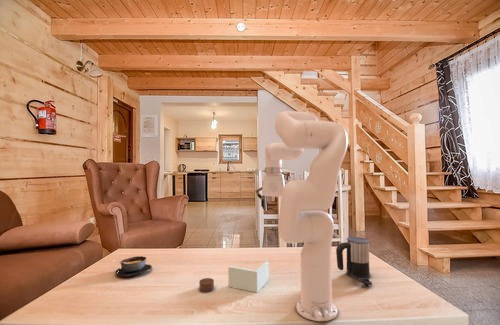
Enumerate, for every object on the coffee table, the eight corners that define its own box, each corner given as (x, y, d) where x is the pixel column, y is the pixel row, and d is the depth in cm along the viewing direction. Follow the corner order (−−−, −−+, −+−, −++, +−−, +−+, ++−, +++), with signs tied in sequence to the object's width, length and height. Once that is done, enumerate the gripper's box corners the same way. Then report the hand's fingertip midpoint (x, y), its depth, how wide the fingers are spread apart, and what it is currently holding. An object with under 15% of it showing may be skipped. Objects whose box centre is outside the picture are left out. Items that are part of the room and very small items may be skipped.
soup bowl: (152, 275, 113) (152, 258, 113) (110, 282, 107) (110, 263, 107) (151, 264, 127) (151, 248, 127) (114, 269, 121) (114, 252, 121)
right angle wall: (268, 279, 108) (268, 261, 108) (257, 292, 97) (257, 271, 97) (242, 275, 113) (242, 257, 113) (228, 286, 102) (228, 267, 102)
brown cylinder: (212, 292, 97) (212, 284, 98) (198, 292, 98) (197, 284, 98) (214, 285, 103) (214, 278, 103) (201, 285, 103) (201, 278, 103)
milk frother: (358, 269, 118) (358, 235, 118) (389, 283, 103) (388, 245, 103) (333, 274, 112) (332, 239, 112) (361, 290, 98) (361, 249, 98)
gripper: (253, 171, 120) (254, 209, 120) (291, 171, 116) (292, 210, 116) (257, 171, 128) (257, 207, 127) (293, 171, 124) (293, 207, 123)
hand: (274, 208), depth 122 cm, fingers open, 9 cm apart
